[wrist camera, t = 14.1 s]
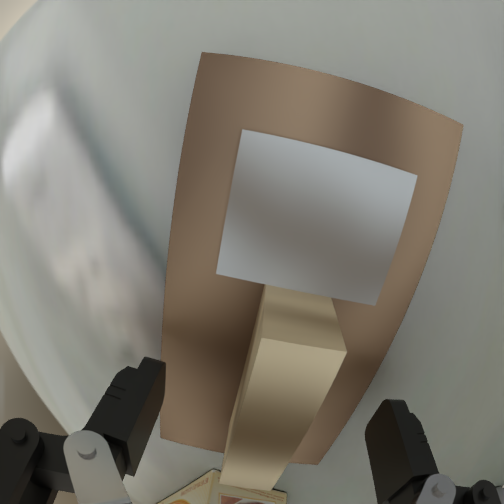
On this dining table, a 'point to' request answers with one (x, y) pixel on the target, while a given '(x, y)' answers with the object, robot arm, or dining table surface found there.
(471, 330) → the dining table surface
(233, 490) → the coffeecake box
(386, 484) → the robot arm
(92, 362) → the dining table surface
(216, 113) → the board
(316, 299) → the turner
